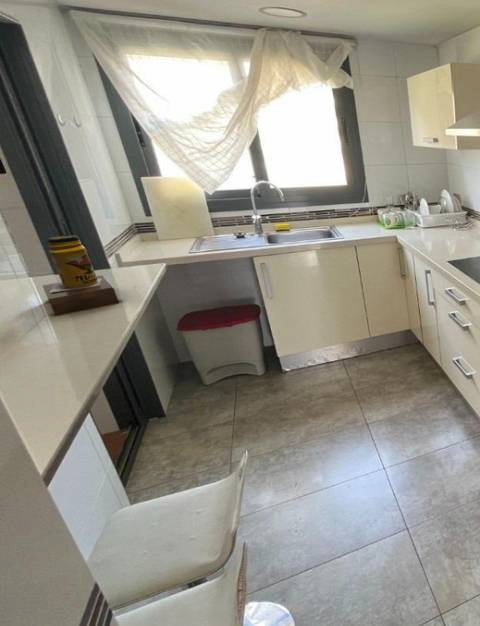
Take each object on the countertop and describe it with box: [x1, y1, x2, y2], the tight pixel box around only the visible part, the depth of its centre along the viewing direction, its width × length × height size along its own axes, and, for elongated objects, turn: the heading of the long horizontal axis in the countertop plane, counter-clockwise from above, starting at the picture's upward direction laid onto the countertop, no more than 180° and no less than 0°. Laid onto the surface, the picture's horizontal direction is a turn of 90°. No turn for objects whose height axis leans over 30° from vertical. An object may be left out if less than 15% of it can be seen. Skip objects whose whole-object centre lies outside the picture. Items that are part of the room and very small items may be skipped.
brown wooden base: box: [42, 275, 120, 317], centre depth 112 cm, size 11×16×4 cm
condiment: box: [46, 234, 101, 293], centre depth 109 cm, size 7×8×12 cm
